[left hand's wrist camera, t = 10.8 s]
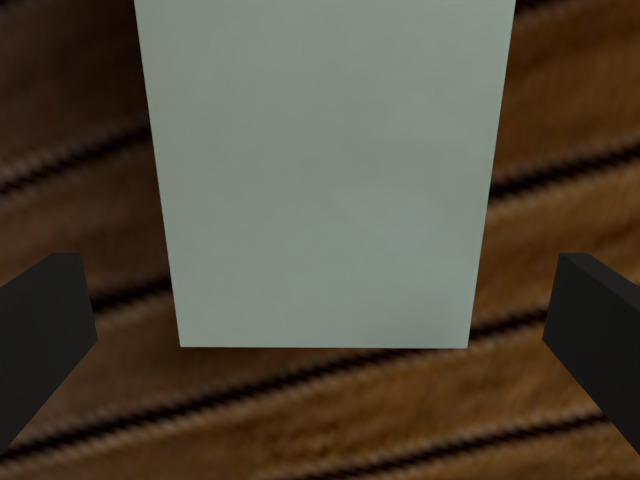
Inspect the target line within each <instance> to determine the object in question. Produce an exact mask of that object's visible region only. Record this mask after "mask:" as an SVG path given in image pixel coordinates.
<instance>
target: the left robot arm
mask: <svg viewBox="0 0 640 480" xmlns="http://www.w3.org/2000/svg"><path fill="white" fill-rule="evenodd" d="M97 340H98V338H97V333H96V328H95V323H94V318H93V313H92V308H91V303H90V298H89V293H88V288H87V284H86V279H85V274H84V269H83V264H82V259H81V254H80V253H52V254H50V255H49V256H47V257H46V258H44V259H43V260H41V261H40V262H38V263H37V264H35V265H34V266H32V267H31V268H29V269H28V270H26V271H25V272H23V273H22V274H20V275H19V276H17V277H16V278H14V279H13V280H11V281H9V282H8V283H6V284H5V285H3V286H2V287H0V455H1V454H2V453H3V452H4V450H5V449H6V448H7V447H8V446H9V444H10V443H11V442H12V441H13V440H14V439H15V437H16V436H17V435H18V434H19V433H20V431H21V430H22V429H23V428H24V427H25V426H26V424H27V423H28V422H29V421H30V420H31V418H32V417H33V416H34V415H35V414H36V413H37V411H38V410H39V409H40V408H41V407H42V405H43V404H44V403H45V402H46V401H47V399H48V398H49V397H50V396H51V395H52V394H53V392H54V391H55V390H56V389H57V388H58V386H59V385H60V384H61V383H62V382H63V381H64V379H65V378H66V377H67V376H68V375H69V373H70V372H71V371H72V370H73V369H74V367H75V366H76V365H77V364H78V363H79V362H80V360H81V359H82V358H83V357H84V356H85V354H86V353H87V352H88V351H89V350H90V349H91V347H92V346H93V345H94V344H95V343H96V341H97ZM542 340H543V341H544V343H545V344H546V345H547V346H548V347H549V349H550V350H551V351H552V352H553V353H554V354H555V356H556V357H557V358H558V359H559V360H560V362H561V363H562V364H563V365H564V366H565V367H566V369H567V370H568V371H569V372H570V373H571V375H572V376H573V377H574V378H575V379H576V381H577V382H578V383H579V384H580V385H581V386H582V388H583V389H584V390H585V391H586V392H587V394H588V395H589V396H590V397H591V398H592V399H593V401H594V402H595V403H596V404H597V405H598V407H599V408H600V409H601V410H602V411H603V413H604V414H605V415H606V416H607V417H608V418H609V420H610V421H611V422H612V423H613V424H614V426H615V427H616V428H617V429H618V430H619V431H620V433H621V434H622V435H623V436H624V437H625V439H626V440H627V441H628V442H629V443H630V444H631V446H632V447H633V448H634V449H635V450H636V452H637V453H638V454H639V455H640V287H638V286H637V285H635V284H634V283H632V282H631V281H629V280H627V279H626V278H624V277H623V276H621V275H620V274H618V273H617V272H615V271H614V270H612V269H611V268H609V267H608V266H606V265H605V264H603V263H602V262H600V261H599V260H597V259H596V258H594V257H593V256H591V255H590V254H588V253H560V254H559V259H558V264H557V269H556V274H555V279H554V284H553V288H552V293H551V298H550V303H549V308H548V313H547V318H546V323H545V328H544V333H543V338H542Z"/></svg>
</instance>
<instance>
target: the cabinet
mask: <svg viewBox="0 0 640 480" xmlns="http://www.w3.org/2000/svg"><path fill="white" fill-rule="evenodd" d="M515 1H516V0H134V4H135V11H136V19H137V26H138V34H139V41H140V48H141V56H142V63H143V71H144V78H145V86H146V93H147V101H148V108H149V116H150V123H151V131H152V138H153V146H154V153H155V161H156V168H157V176H158V183H159V190H160V198H161V205H162V213H163V220H164V228H165V235H166V243H167V250H168V258H169V265H170V273H171V280H172V288H173V295H174V303H175V310H176V318H177V325H178V332H179V340H180V346H181V347H292V348H467V345H468V337H469V330H470V323H471V316H472V309H473V302H474V295H475V287H476V280H477V273H478V266H479V259H480V252H481V244H482V237H483V230H484V223H485V216H486V209H487V201H488V194H489V187H490V180H491V173H492V166H493V159H494V151H495V144H496V137H497V130H498V123H499V116H500V108H501V101H502V94H503V87H504V80H505V73H506V65H507V58H508V51H509V44H510V37H511V30H512V23H513V15H514V8H515Z"/></svg>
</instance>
